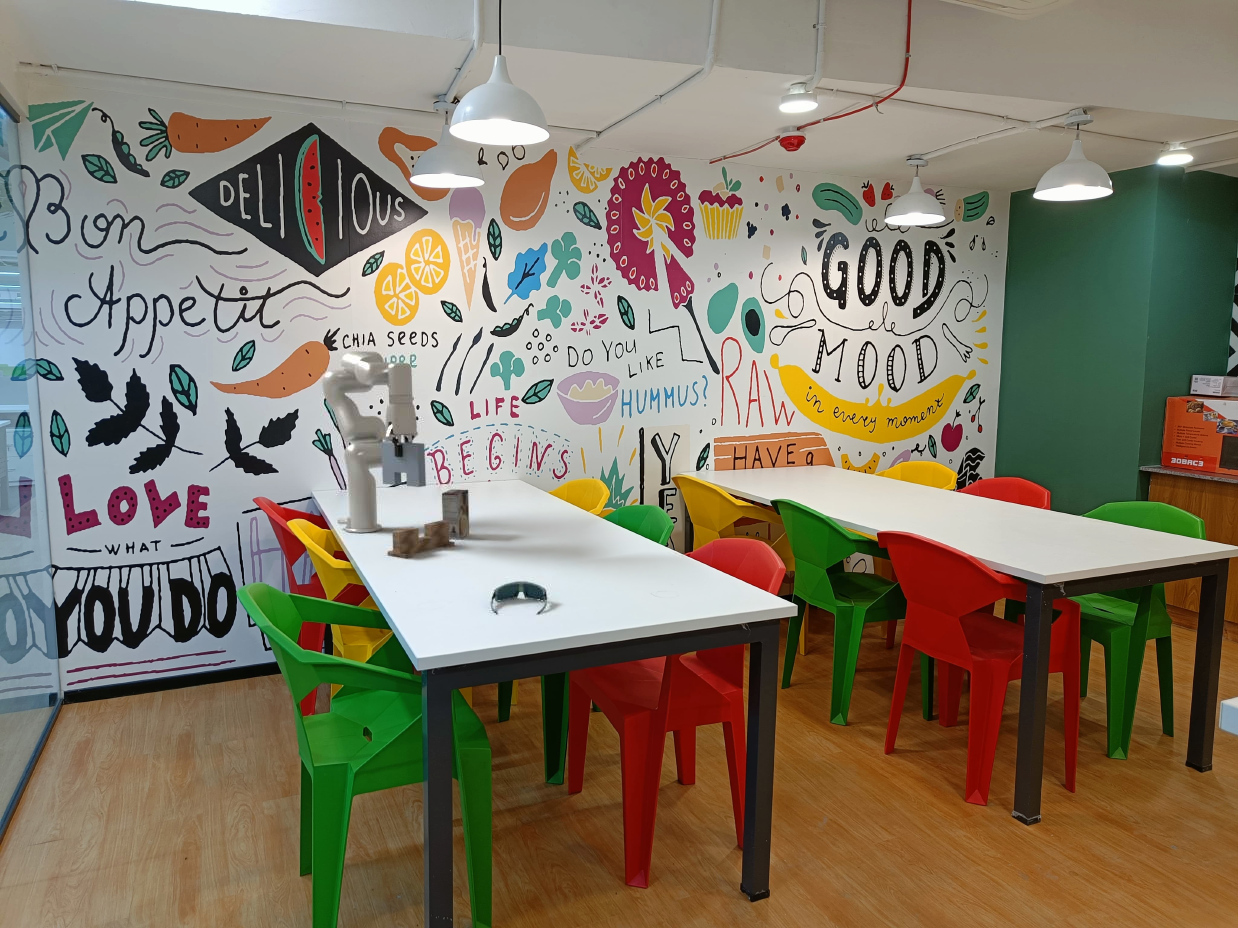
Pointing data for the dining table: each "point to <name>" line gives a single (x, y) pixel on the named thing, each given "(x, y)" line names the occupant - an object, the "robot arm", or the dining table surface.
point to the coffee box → (456, 512)
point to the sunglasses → (520, 586)
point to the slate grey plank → (404, 464)
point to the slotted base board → (420, 539)
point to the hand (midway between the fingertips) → (403, 455)
